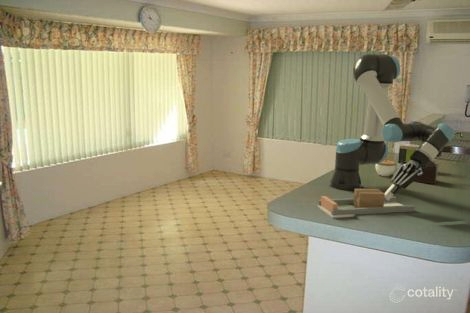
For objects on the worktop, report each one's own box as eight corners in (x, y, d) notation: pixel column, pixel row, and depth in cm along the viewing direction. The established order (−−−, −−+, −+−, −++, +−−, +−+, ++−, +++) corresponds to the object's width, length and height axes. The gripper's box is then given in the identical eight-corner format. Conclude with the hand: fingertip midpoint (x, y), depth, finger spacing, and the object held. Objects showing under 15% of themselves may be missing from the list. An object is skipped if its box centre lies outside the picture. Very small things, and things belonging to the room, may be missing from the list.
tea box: (428, 170, 248) (431, 146, 245) (422, 173, 241) (425, 148, 238) (402, 166, 258) (405, 143, 255) (396, 168, 251) (399, 144, 248)
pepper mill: (435, 185, 214) (440, 150, 211) (413, 181, 220) (416, 148, 217) (440, 179, 227) (444, 147, 223) (419, 176, 233) (422, 144, 229)
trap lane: (317, 206, 173) (318, 195, 172) (393, 202, 181) (394, 191, 180) (332, 217, 160) (333, 205, 159) (414, 213, 168) (415, 201, 167)
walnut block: (353, 204, 174) (354, 188, 173) (376, 204, 174) (378, 188, 173) (358, 210, 167) (360, 193, 166) (383, 210, 167) (384, 193, 166)
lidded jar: (398, 176, 230) (400, 160, 228) (383, 178, 226) (385, 161, 224) (385, 172, 240) (386, 156, 238) (370, 173, 236) (371, 157, 234)
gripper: (439, 164, 164) (400, 208, 164) (418, 158, 177) (381, 199, 176) (429, 152, 162) (389, 197, 162) (408, 147, 175) (370, 188, 174)
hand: (385, 198), depth 169 cm, fingers closed
